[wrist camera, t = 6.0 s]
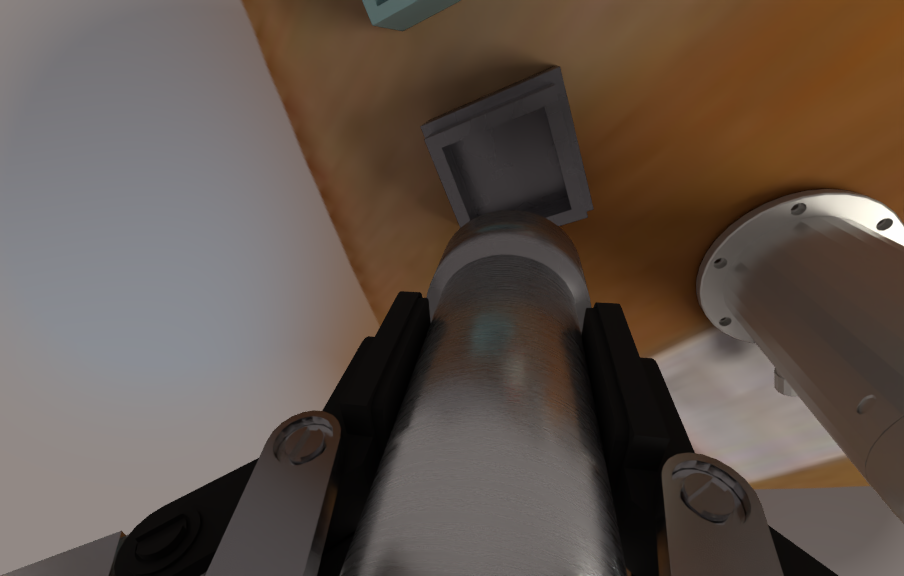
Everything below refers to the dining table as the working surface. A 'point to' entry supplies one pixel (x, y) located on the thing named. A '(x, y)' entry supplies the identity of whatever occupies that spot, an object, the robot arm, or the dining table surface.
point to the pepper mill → (496, 422)
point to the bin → (403, 11)
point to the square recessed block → (512, 153)
